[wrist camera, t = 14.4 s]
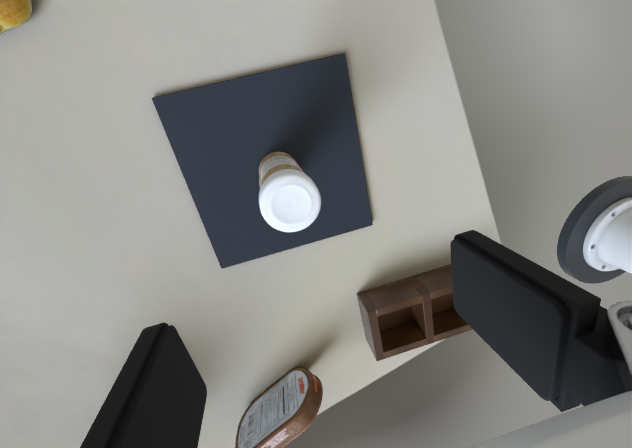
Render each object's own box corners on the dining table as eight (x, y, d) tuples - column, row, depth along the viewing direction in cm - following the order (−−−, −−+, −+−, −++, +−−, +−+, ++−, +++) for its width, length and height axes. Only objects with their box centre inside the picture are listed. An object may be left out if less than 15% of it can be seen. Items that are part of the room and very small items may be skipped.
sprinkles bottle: (259, 191, 34) (260, 236, 21) (257, 150, 32) (257, 174, 20) (299, 189, 35) (321, 232, 22) (298, 150, 33) (323, 172, 21)
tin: (248, 420, 47) (246, 481, 39) (233, 412, 46) (228, 473, 38) (318, 363, 45) (330, 415, 38) (304, 353, 44) (314, 404, 36)
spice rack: (462, 260, 43) (483, 276, 39) (463, 307, 47) (483, 326, 43) (356, 293, 42) (367, 312, 38) (366, 339, 45) (376, 361, 41)
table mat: (343, 53, 31) (345, 53, 30) (371, 223, 38) (372, 225, 38) (153, 98, 29) (151, 98, 29) (222, 266, 37) (221, 268, 36)
